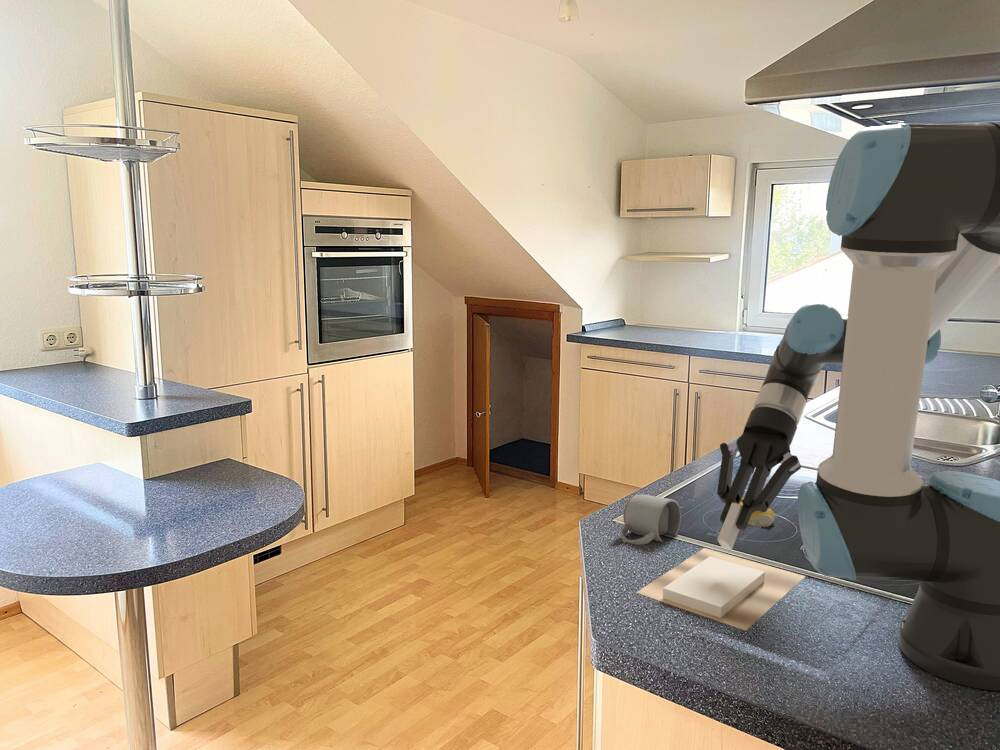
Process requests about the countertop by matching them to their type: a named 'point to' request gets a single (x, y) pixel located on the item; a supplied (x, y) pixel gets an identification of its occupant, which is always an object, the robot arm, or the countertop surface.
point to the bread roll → (761, 518)
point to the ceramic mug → (650, 518)
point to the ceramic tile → (714, 586)
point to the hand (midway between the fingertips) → (724, 544)
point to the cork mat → (745, 610)
